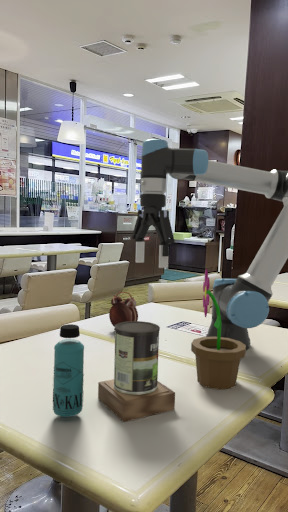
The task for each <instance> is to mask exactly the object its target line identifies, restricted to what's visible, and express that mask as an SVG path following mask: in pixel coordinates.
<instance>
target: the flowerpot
mask: <svg viewBox="0 0 288 512" xmlns="http://www.w3.org/2000/svg"><path fill="white" fill-rule="evenodd" d="M204 271H205V272H204V281H203V282H202V283H203V285H202V290H203V293H204V295H203V297H202V307H203V312H204V313H203V314H204V318H207V314H208V306H209V305H210V299H211V300H212V301H213V303H214V305H215V308H216V313H217V320H216V322H215V324H214V327H216V328H217V329H218V331H217V337H206V336H201V337H197V338H194V339H193V340H192V341H191V345H190V351H191V352H192V353H193V354H194V355H195V365H196V377H197V382H198V383H199V384H200V385H201V386H203V387H205V388H208V389H212V390H213V389H214V390H230V389H232V388H234V387H236V384H237V380H238V374H239V369H240V364H241V363H240V362H241V359H244V358H245V357H246V352H247V351H246V345H245V344H243V343H242V342H240V341H237V340H234V339H230V338H223V337H221V316H220V309H219V306H218V304H217V301H216V299H215V297H214V295H213V292H212V291H211V289H210V287H211V286H210V276H209V273H208V269H207V268H206V269H205V270H204Z"/></svg>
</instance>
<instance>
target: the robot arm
mask: <svg viewBox="0 0 288 512" xmlns="http://www.w3.org/2000/svg"><path fill="white" fill-rule="evenodd" d="M168 144H169V143H168V141H167V140H165V139H160V138H150V139H149V138H148V139H146V140H144V141H143V142H142V147H141V149H142V150H141V156H140V157H141V161H140V162H141V166H140V167H141V170H140V172H141V174H140V175H141V176H140V178H141V180H140V192H141V194H140V202H139V203H140V207H142V208H143V209H138V210H137V216H136V217H137V218H136V219H135V220H136V221H135V225H134V227H133V231H132V236H131V239H133V240H134V242H135V263H138V264H139V263H142V264H143V263H145V246H146V245H145V244H146V243H145V238H146V235H147V233H148V231H149V229H150V227H151V226H152V227H154V228H155V229H154V230H155V231H156V234H157V236H158V238H159V241H160V242H159V247H158V249H159V250H158V252H159V253H158V268H159V269H167V268H169V256H170V255H169V254H170V246H171V244H175V237H174V233H173V229H172V225H171V220H170V211H169V210H168V209H163V208H165V207H166V204H167V203H166V202H167V195H166V192H167V181H168V179H167V175H169V176H170V177H171V178H172V179H175V180H187V181H193V182H197V183H204V184H208V185H213V186H218V187H224V188H229V189H234V190H239V191H245V192H249V193H255V194H260V195H264V196H265V198H266V199H271V200H275V201H279V202H282V204H283V208H282V210H280V213H279V214H278V216H277V218H276V219H275V222H274V223H273V225H272V227H271V228H270V230H269V232H268V234H267V236H266V237H265V239H264V241H263V242H262V244H261V246H260V248H259V250H258V251H257V253H256V254H255V257H254V259H253V260H252V262H251V264H250V265H249V267H248V269H247V271H246V272H245V273H243V274H239V275H238V276H237V278H216V279H213V280H214V281H213V286H212V294H213V295H214V297H215V299H216V301H217V304H218V306H219V309H220V316H221V337H223V338H230V339H234V340H237V341H240V342H242V343H243V344H245V345H246V350H248V349H250V347H251V338H250V335H249V330H248V329H253V328H256V327H258V326H260V325H262V324H263V323H264V322H265V321H266V319H267V318H268V315H269V312H270V307H269V302H270V300H271V298H272V296H273V294H274V293H273V290H272V286H273V285H274V283H275V280H276V279H277V277H278V276H279V274H280V272H281V270H282V269H283V267H284V265H285V264H286V262H287V260H288V170H278V169H272V170H271V171H267V170H261V169H257V168H251V167H247V166H241V165H237V164H230V163H226V162H220V161H215V160H211V159H209V153H208V151H207V150H205V149H198V148H178V147H177V148H174V147H169V145H168ZM211 304H212V305H211V323H210V325H209V328H208V330H207V333H206V335H205V337H217V331H218V329H217V328H216V327H214V324H215V322H216V320H217V313H216V308H215V305H214V303H213V301H212V303H211Z"/></svg>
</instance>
